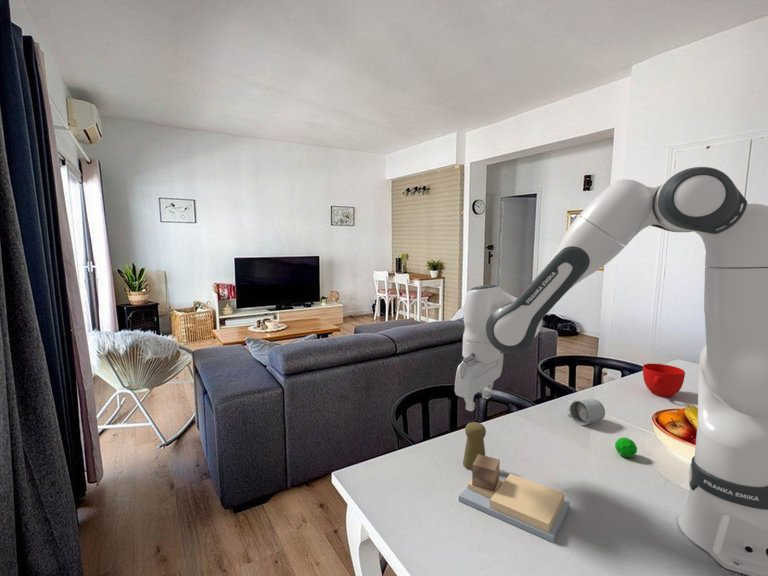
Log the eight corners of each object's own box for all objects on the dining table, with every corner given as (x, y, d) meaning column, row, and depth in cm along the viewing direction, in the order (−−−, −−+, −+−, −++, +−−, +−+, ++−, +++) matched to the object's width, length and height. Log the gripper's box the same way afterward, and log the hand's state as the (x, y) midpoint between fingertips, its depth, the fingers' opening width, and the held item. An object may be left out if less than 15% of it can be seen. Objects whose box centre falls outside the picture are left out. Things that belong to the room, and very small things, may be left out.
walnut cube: (499, 479, 91) (499, 459, 90) (494, 491, 86) (495, 470, 86) (477, 473, 93) (478, 454, 92) (472, 485, 88) (472, 464, 88)
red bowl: (633, 396, 146) (635, 370, 145) (646, 385, 157) (648, 361, 156) (675, 407, 136) (678, 379, 135) (686, 394, 148) (688, 368, 146)
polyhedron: (636, 454, 106) (637, 437, 105) (636, 462, 102) (637, 445, 101) (615, 449, 109) (616, 432, 108) (614, 457, 104) (615, 440, 104)
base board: (569, 506, 85) (569, 493, 84) (552, 542, 75) (553, 528, 74) (482, 473, 97) (483, 462, 97) (458, 500, 87) (458, 488, 86)
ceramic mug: (606, 424, 123) (607, 400, 123) (589, 429, 120) (590, 405, 119) (577, 412, 133) (578, 390, 132) (560, 416, 130) (561, 394, 129)
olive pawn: (487, 472, 97) (488, 431, 96) (463, 470, 99) (463, 429, 97) (485, 459, 103) (486, 420, 102) (462, 457, 104) (463, 418, 103)
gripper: (474, 362, 86) (472, 422, 88) (508, 343, 102) (505, 394, 104) (448, 357, 90) (447, 414, 91) (485, 340, 106) (483, 388, 107)
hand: (478, 403), depth 98 cm, fingers open, 8 cm apart
